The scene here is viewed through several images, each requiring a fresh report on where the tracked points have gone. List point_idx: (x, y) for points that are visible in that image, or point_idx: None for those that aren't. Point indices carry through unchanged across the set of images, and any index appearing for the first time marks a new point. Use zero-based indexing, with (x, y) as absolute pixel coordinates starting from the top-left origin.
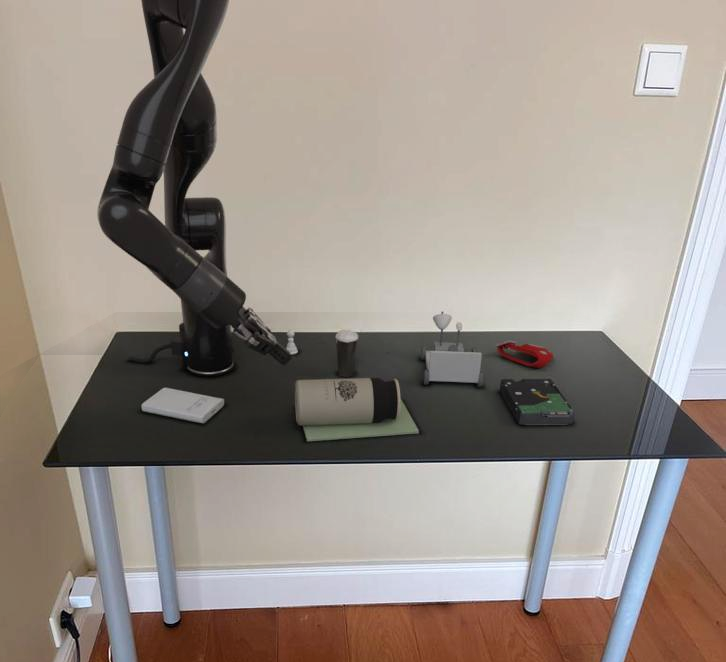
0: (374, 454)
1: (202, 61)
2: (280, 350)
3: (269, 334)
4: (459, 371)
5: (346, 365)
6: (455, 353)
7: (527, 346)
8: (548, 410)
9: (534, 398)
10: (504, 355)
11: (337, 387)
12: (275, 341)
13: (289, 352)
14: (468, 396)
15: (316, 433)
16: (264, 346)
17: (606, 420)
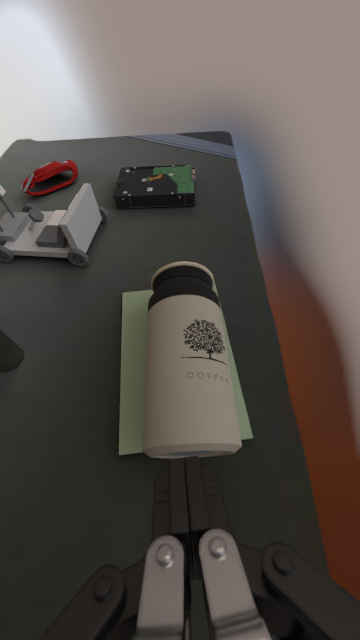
0: (276, 337)
1: None
2: (216, 505)
3: (183, 592)
4: (90, 221)
5: (11, 349)
6: (78, 203)
7: (46, 168)
8: (189, 177)
9: (163, 181)
10: (41, 193)
11: (208, 353)
12: (223, 540)
13: (174, 462)
14: (123, 233)
15: None
16: (296, 624)
17: (185, 161)
